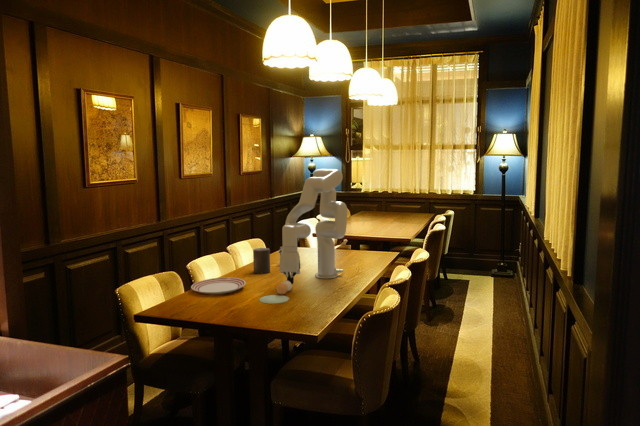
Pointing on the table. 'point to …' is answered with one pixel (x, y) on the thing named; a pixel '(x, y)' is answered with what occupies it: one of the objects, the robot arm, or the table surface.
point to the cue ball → (288, 285)
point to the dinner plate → (218, 285)
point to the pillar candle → (261, 260)
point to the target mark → (274, 299)
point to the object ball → (281, 288)
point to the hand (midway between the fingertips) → (290, 284)
